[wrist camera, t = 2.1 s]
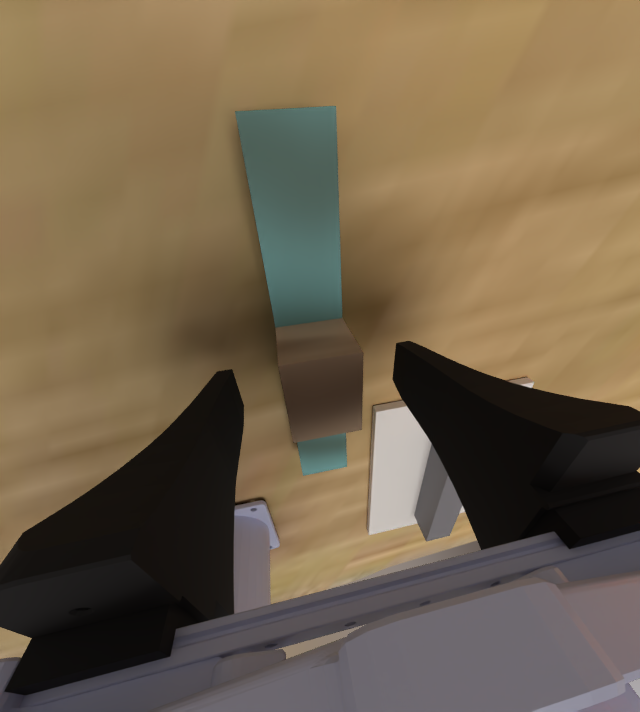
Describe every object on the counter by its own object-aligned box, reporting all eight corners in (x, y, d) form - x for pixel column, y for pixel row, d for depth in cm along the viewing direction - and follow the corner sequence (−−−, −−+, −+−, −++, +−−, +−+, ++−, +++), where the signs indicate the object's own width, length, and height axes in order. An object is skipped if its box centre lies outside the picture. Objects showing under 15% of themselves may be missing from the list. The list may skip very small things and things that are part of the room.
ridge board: (367, 529, 28) (377, 562, 25) (373, 405, 18) (390, 440, 16) (469, 504, 29) (489, 533, 27) (527, 377, 19) (566, 404, 17)
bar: (338, 437, 20) (360, 511, 15) (299, 445, 19) (309, 523, 15) (321, 124, 10) (368, 64, 5) (241, 129, 10) (219, 70, 5)
